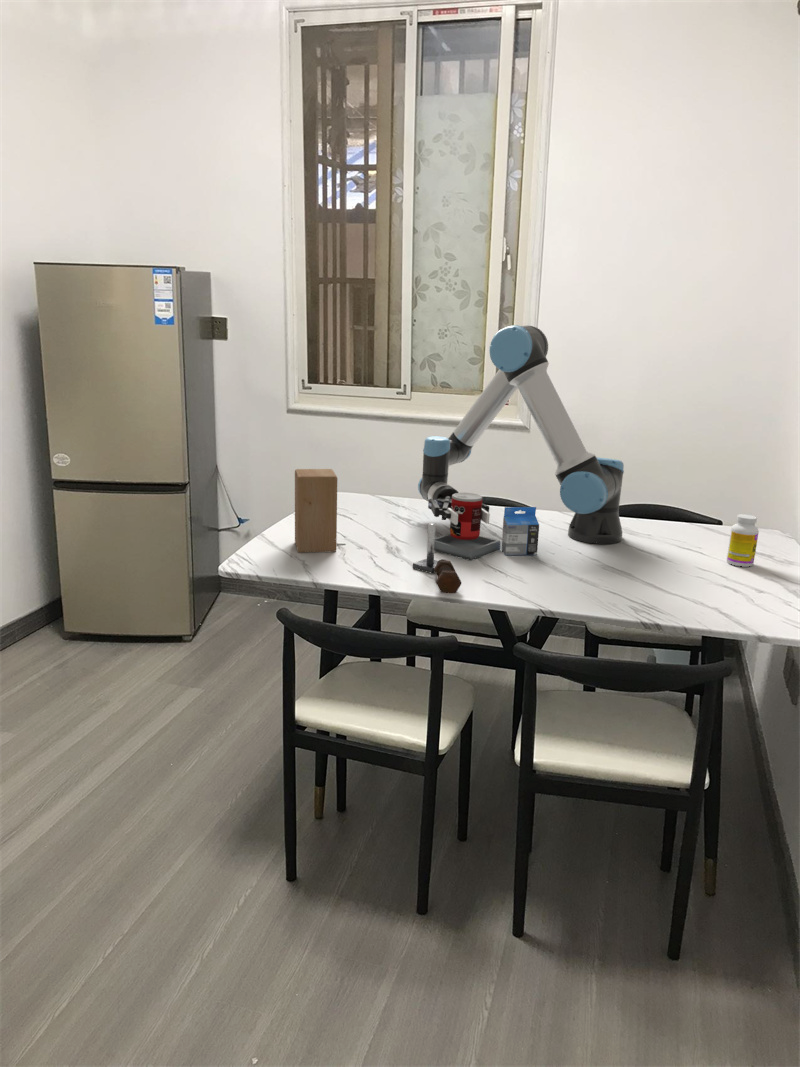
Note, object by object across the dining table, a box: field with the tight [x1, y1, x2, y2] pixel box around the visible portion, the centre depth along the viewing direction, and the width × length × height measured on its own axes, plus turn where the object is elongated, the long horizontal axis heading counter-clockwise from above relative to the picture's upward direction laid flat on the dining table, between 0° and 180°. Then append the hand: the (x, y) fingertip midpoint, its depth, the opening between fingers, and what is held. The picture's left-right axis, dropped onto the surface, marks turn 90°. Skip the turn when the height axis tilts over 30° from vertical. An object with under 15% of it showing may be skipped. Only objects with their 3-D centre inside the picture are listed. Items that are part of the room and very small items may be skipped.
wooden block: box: [294, 468, 338, 553], centre depth 205 cm, size 10×10×20 cm
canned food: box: [449, 492, 483, 540], centre depth 208 cm, size 8×8×11 cm
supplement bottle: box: [725, 513, 760, 568], centre depth 206 cm, size 7×7×13 cm
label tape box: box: [501, 506, 540, 556], centre depth 208 cm, size 9×4×12 cm, turn 99°
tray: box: [434, 533, 502, 562], centre depth 210 cm, size 14×14×3 cm
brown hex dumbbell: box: [434, 558, 462, 594], centre depth 184 cm, size 6×5×15 cm
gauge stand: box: [412, 522, 439, 574], centre depth 193 cm, size 6×6×11 cm
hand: (472, 518), depth 204 cm, fingers closed on canned food, 8 cm apart
